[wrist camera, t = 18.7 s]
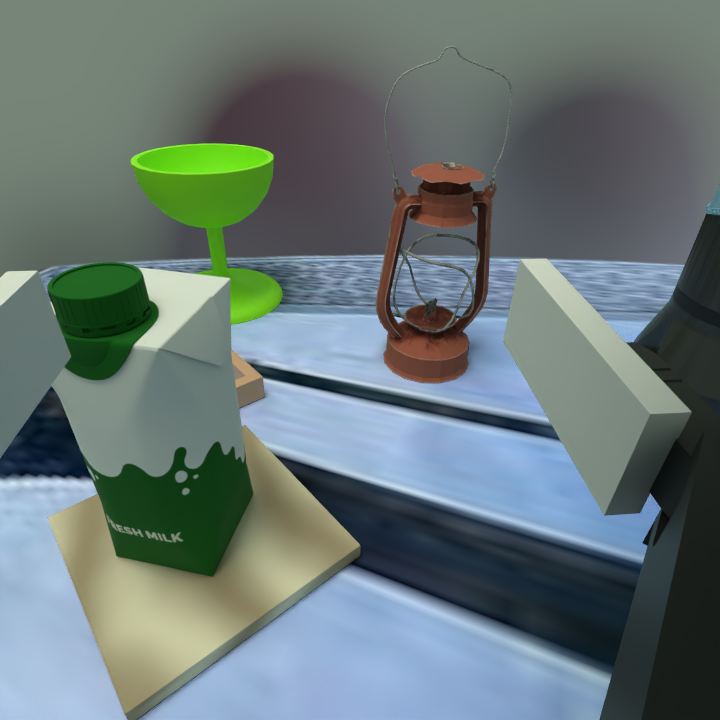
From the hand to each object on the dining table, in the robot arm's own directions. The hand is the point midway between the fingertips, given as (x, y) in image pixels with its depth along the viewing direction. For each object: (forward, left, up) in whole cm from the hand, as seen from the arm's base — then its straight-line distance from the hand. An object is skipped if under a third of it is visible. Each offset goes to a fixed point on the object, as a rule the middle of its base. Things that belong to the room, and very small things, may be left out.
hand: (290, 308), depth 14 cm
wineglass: (-19, -47, -25) cm, 57 cm away
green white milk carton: (+1, -14, -23) cm, 27 cm away
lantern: (-30, -20, -25) cm, 43 cm away
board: (0, -13, -24) cm, 28 cm away
